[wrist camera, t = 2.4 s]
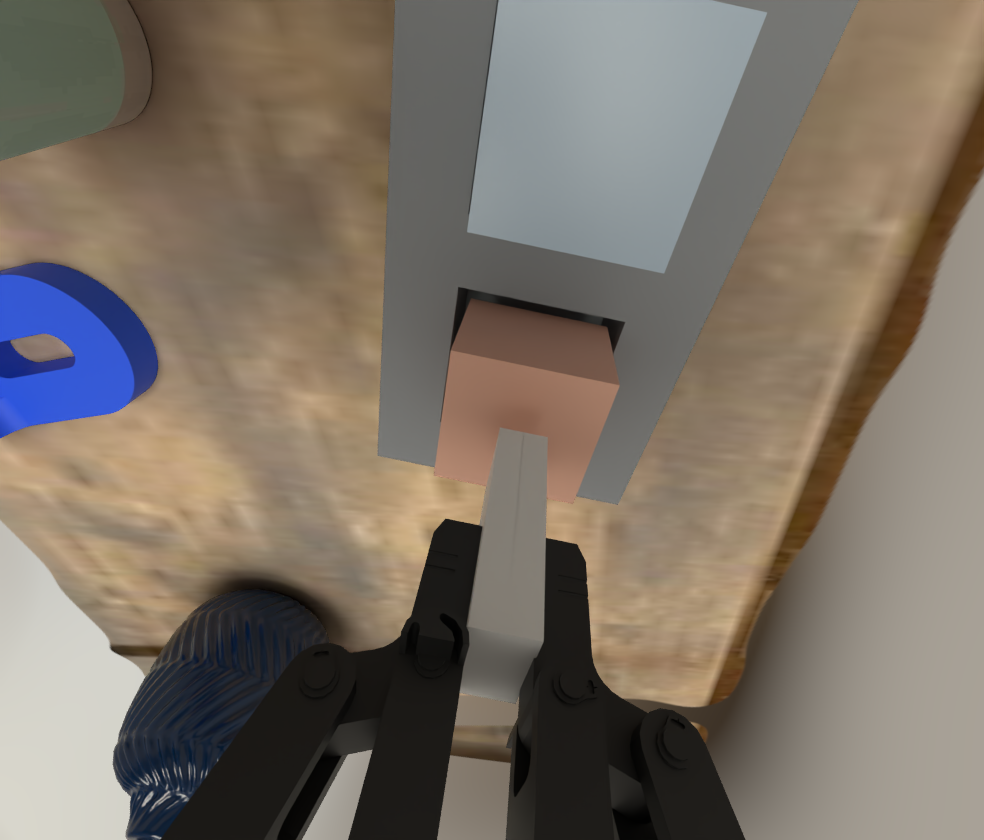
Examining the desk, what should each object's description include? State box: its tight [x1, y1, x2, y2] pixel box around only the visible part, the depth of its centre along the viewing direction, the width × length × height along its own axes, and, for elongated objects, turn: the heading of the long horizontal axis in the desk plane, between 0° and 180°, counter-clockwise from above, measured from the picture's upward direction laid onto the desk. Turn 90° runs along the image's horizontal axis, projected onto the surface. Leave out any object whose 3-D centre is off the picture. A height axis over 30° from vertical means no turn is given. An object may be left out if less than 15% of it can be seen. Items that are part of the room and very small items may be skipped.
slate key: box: [467, 0, 767, 273], centre depth 13 cm, size 5×5×4 cm
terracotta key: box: [434, 298, 620, 504], centre depth 18 cm, size 5×5×4 cm
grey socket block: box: [378, 0, 859, 505], centre depth 16 cm, size 30×12×5 cm, turn 170°
